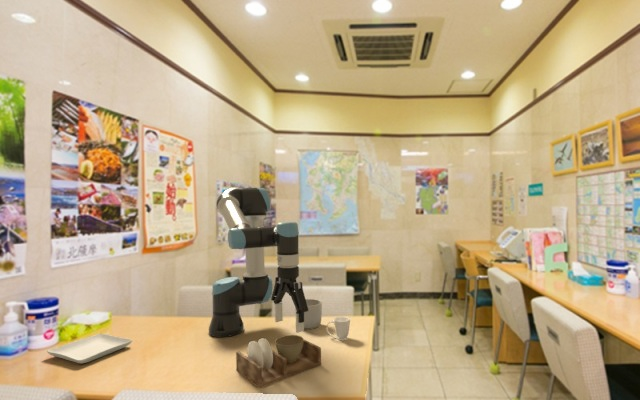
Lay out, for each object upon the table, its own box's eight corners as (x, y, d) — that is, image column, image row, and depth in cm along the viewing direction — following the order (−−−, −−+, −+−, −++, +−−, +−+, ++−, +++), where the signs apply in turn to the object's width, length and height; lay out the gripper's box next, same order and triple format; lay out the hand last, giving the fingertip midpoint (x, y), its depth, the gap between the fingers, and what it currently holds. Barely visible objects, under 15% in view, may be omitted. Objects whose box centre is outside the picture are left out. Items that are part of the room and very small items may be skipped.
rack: (236, 369, 120) (236, 351, 120) (295, 351, 135) (294, 335, 135) (259, 387, 108) (258, 367, 108) (321, 365, 122) (320, 347, 122)
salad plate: (134, 347, 144) (134, 338, 144) (80, 369, 124) (80, 359, 125) (100, 340, 153) (100, 332, 153) (45, 360, 133) (45, 350, 133)
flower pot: (290, 352, 131) (290, 332, 132) (309, 359, 124) (309, 339, 125) (269, 361, 124) (269, 340, 124) (288, 369, 117) (288, 347, 117)
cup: (349, 342, 143) (349, 321, 143) (325, 341, 144) (325, 321, 145) (351, 335, 150) (351, 316, 150) (328, 335, 151) (327, 316, 152)
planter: (322, 330, 157) (321, 305, 158) (294, 331, 157) (293, 306, 158) (322, 321, 170) (321, 298, 170) (296, 322, 170) (296, 299, 170)
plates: (247, 367, 119) (247, 337, 120) (258, 363, 122) (258, 334, 122) (261, 378, 112) (261, 346, 112) (273, 374, 114) (272, 342, 114)
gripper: (261, 262, 132) (262, 319, 132) (299, 272, 113) (300, 339, 113) (278, 260, 137) (279, 315, 137) (318, 269, 117) (319, 333, 117)
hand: (289, 326), depth 125 cm, fingers open, 13 cm apart
